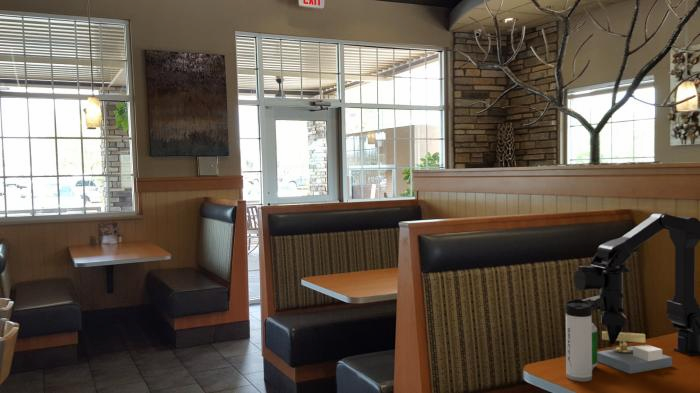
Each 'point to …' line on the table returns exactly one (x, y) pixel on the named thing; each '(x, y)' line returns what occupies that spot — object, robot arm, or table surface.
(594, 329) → the soda can
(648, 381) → the table surface
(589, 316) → the travel mug
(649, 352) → the white square block
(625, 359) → the lock plate
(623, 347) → the brass door handle
